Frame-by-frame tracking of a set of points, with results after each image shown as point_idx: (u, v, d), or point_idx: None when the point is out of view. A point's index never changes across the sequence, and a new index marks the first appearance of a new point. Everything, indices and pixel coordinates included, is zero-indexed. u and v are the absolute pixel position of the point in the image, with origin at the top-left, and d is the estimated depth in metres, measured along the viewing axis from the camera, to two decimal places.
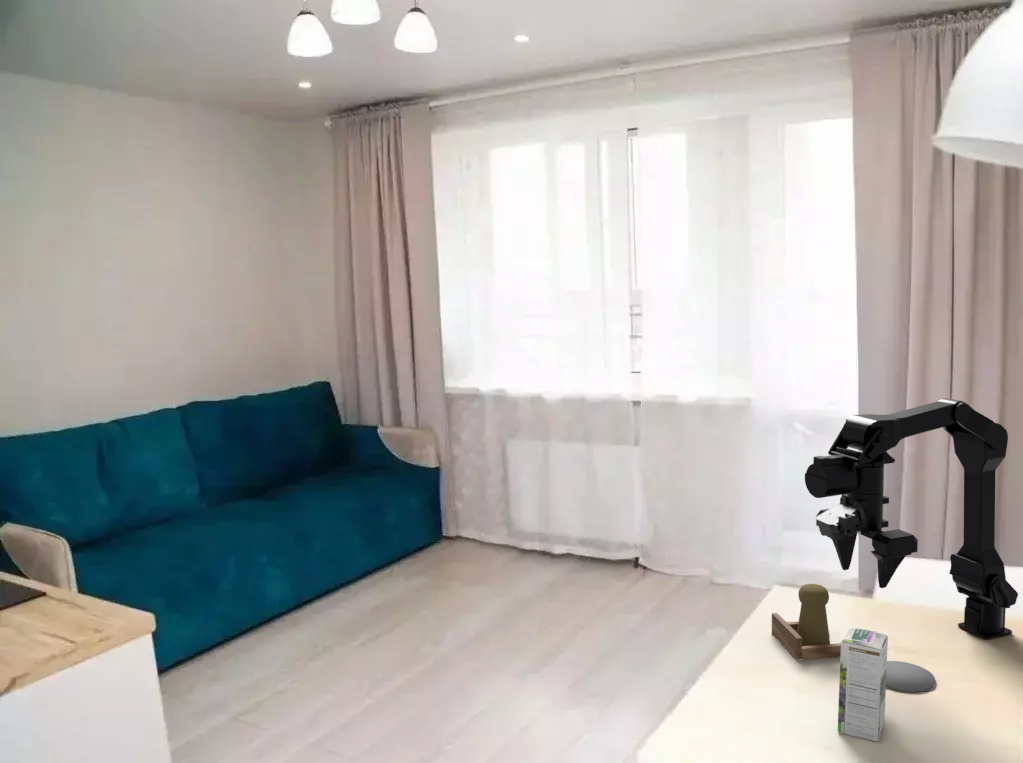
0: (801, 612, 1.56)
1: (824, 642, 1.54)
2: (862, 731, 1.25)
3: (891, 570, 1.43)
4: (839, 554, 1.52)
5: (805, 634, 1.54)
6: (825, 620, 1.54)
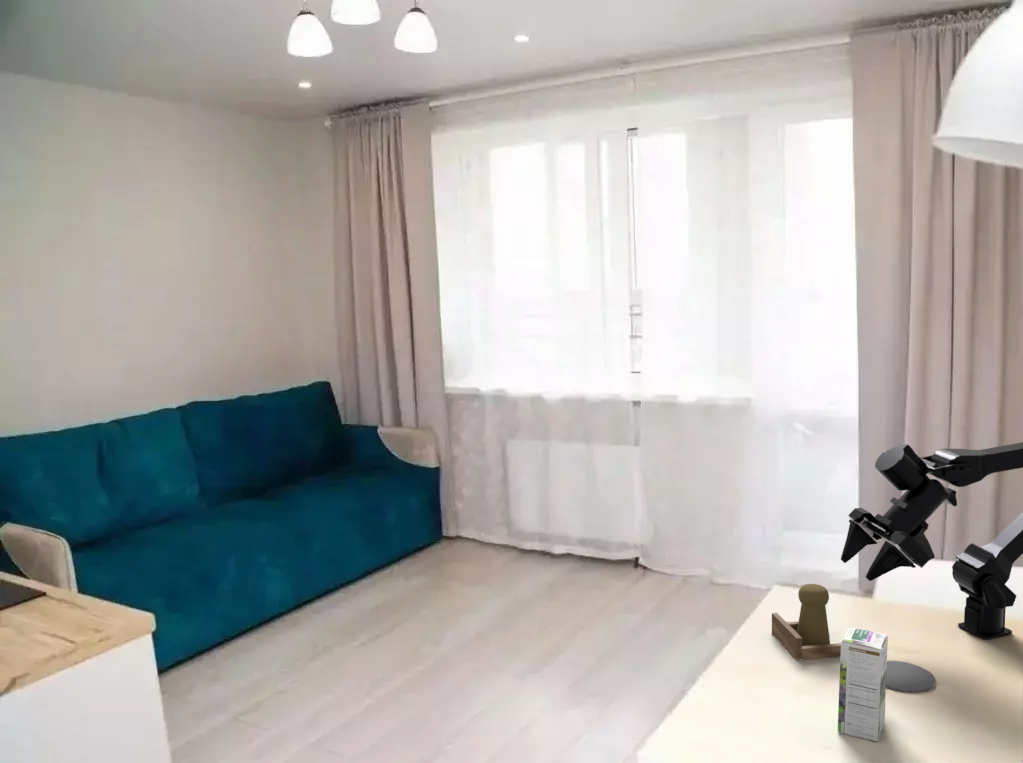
0: (801, 612, 1.56)
1: (824, 642, 1.54)
2: (862, 731, 1.25)
3: None
4: None
5: (805, 634, 1.54)
6: (825, 620, 1.54)
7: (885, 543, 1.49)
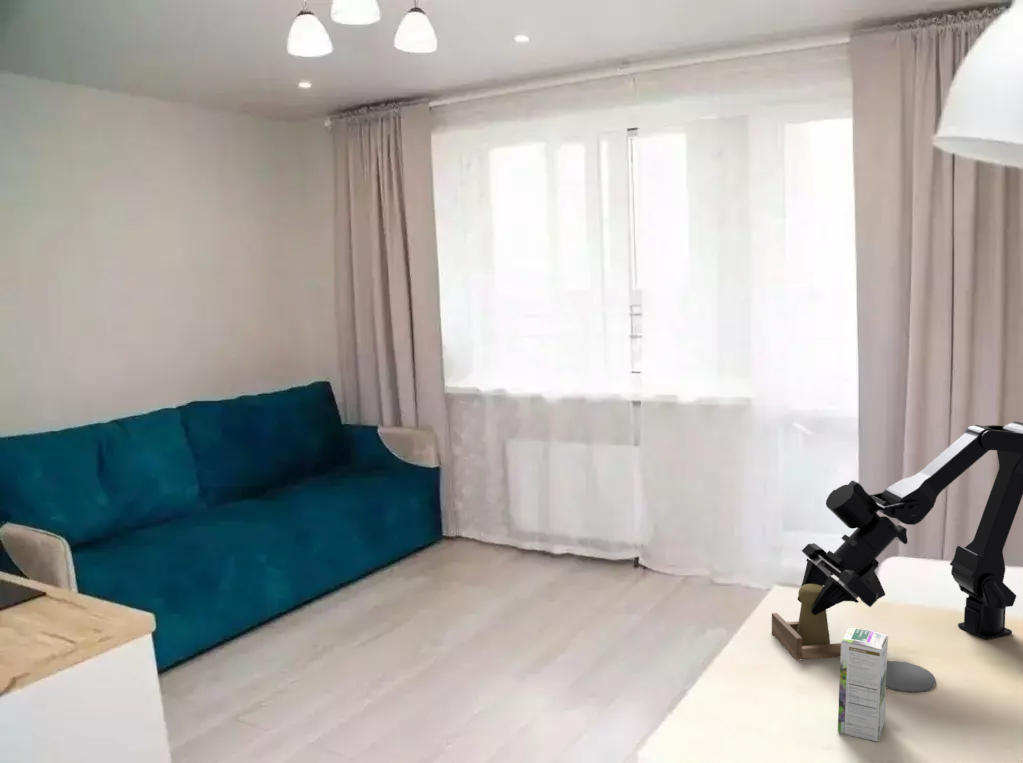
0: (801, 612, 1.56)
1: (824, 642, 1.54)
2: (862, 731, 1.25)
3: None
4: None
5: (805, 634, 1.54)
6: (825, 620, 1.54)
7: (829, 578, 1.51)
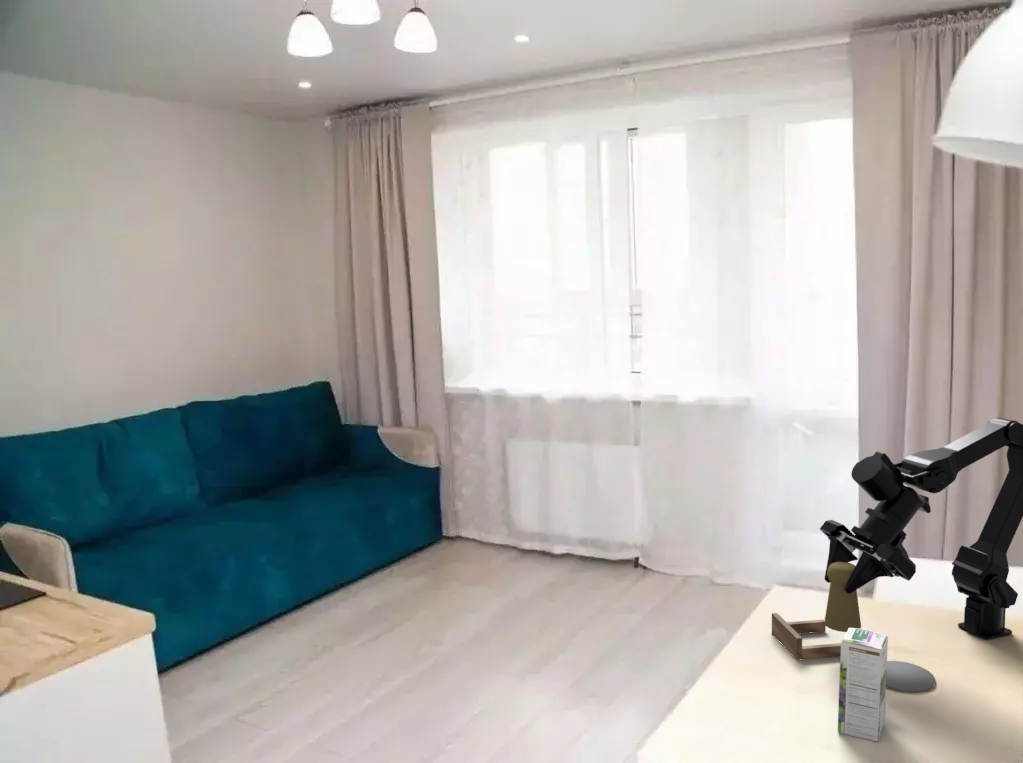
0: (831, 592, 1.49)
1: (857, 621, 1.48)
2: (862, 731, 1.25)
3: None
4: None
5: (837, 615, 1.48)
6: (856, 598, 1.48)
7: (863, 554, 1.45)
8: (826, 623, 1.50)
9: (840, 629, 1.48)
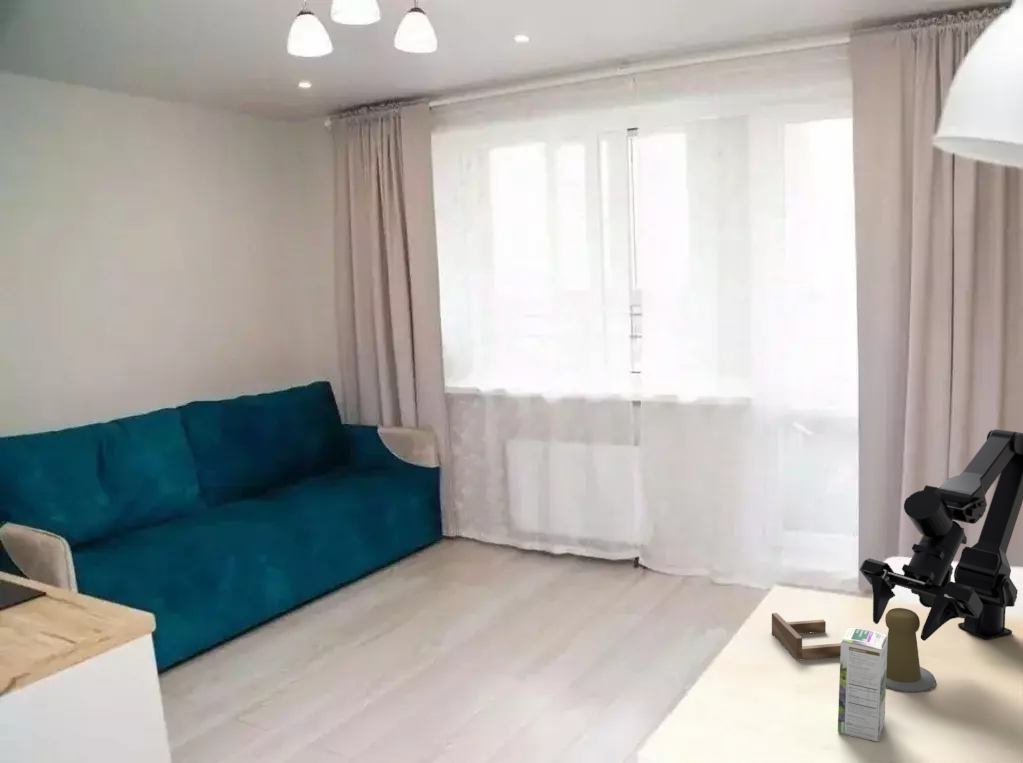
0: (894, 642, 1.41)
1: (919, 669, 1.42)
2: (862, 731, 1.25)
3: None
4: None
5: (902, 666, 1.40)
6: None
7: (938, 597, 1.38)
8: (888, 675, 1.42)
9: (906, 680, 1.40)
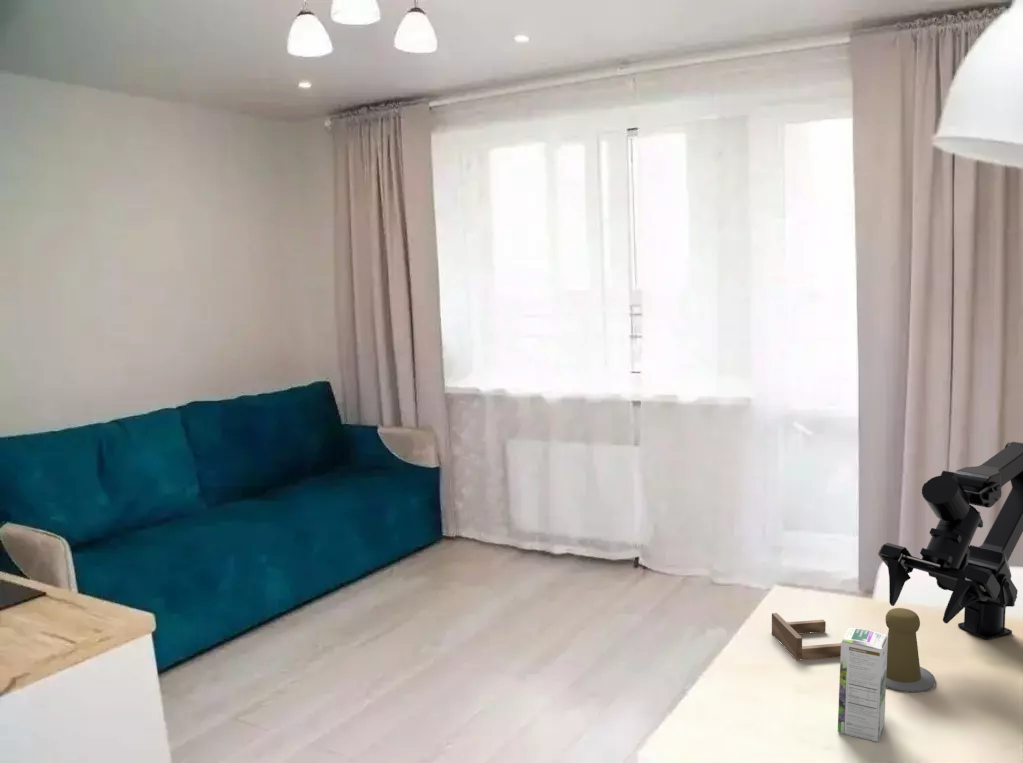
0: (894, 642, 1.41)
1: (919, 669, 1.42)
2: (862, 731, 1.25)
3: None
4: None
5: (902, 665, 1.41)
6: None
7: (959, 581, 1.40)
8: (888, 675, 1.42)
9: (906, 680, 1.40)
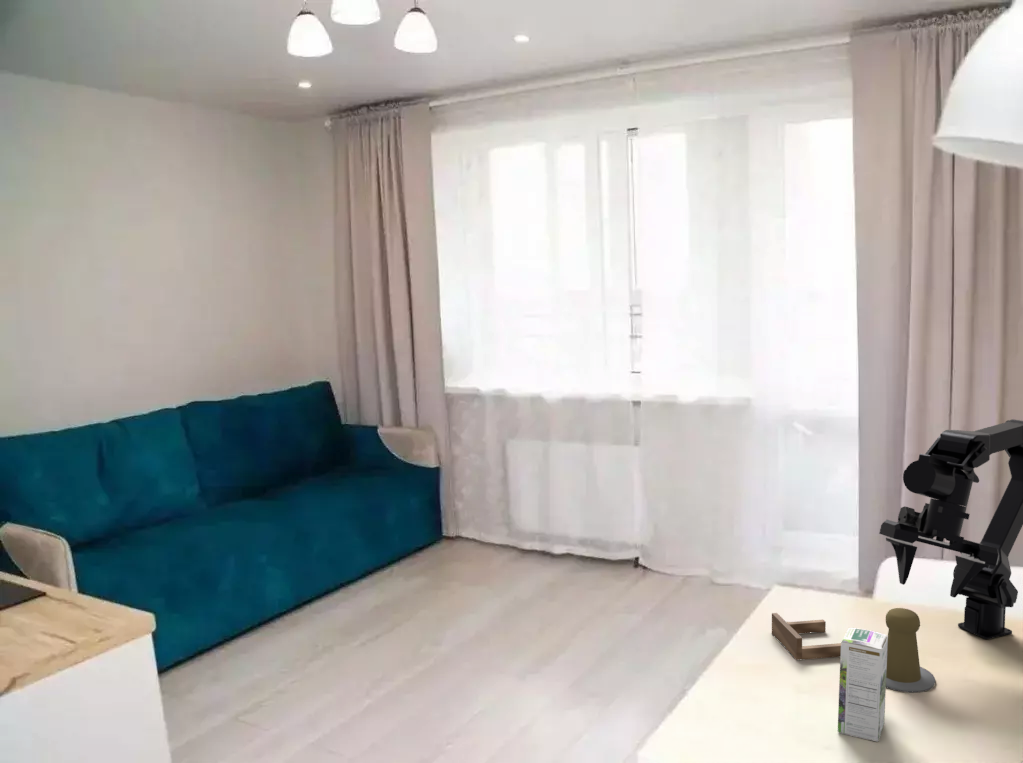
0: (894, 642, 1.41)
1: (919, 669, 1.42)
2: (862, 731, 1.25)
3: (902, 564, 1.48)
4: None
5: (902, 666, 1.41)
6: None
7: (976, 564, 1.47)
8: (888, 675, 1.42)
9: (906, 680, 1.40)
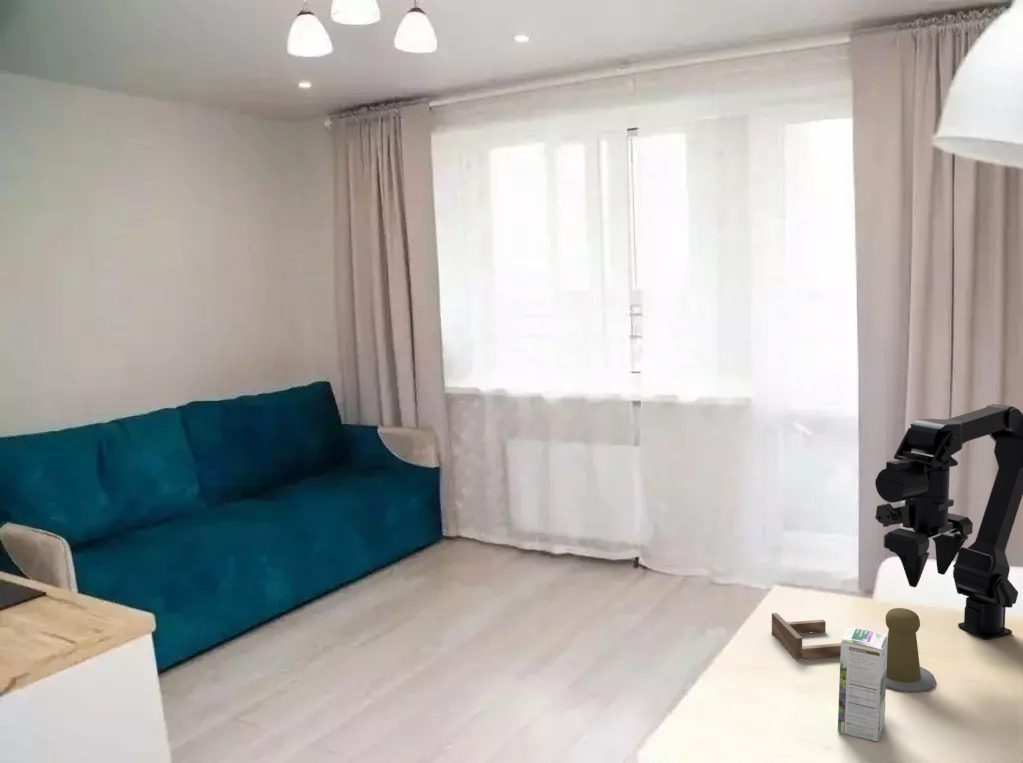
0: (894, 642, 1.41)
1: (919, 669, 1.42)
2: (862, 731, 1.25)
3: (913, 571, 1.46)
4: None
5: (902, 666, 1.41)
6: None
7: (961, 541, 1.51)
8: (888, 675, 1.42)
9: (906, 680, 1.40)
